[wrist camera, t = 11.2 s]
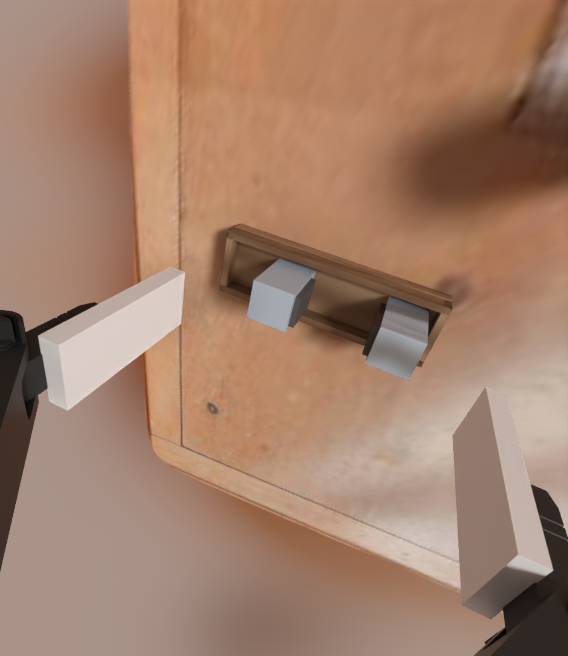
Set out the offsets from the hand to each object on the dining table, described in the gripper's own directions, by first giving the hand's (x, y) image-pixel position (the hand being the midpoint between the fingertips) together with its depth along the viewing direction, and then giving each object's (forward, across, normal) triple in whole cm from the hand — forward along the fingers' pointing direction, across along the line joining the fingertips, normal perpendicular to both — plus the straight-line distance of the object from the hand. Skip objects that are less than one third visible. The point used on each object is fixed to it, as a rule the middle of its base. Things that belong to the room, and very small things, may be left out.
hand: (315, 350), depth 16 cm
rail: (+29, -4, -10) cm, 31 cm away
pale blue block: (+27, -8, -10) cm, 30 cm away
